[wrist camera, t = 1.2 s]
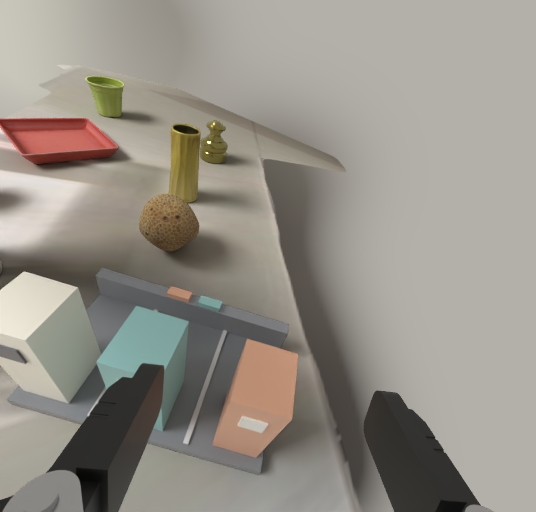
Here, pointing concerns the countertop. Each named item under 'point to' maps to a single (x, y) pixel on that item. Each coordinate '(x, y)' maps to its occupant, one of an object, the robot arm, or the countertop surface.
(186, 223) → the natural sponge
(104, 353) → the key teal
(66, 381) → the key cream
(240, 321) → the grey divided tray
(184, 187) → the vase
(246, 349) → the key terracotta
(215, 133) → the olive glossy tiered piece
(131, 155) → the countertop surface
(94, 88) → the plant pot
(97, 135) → the plant saucer
